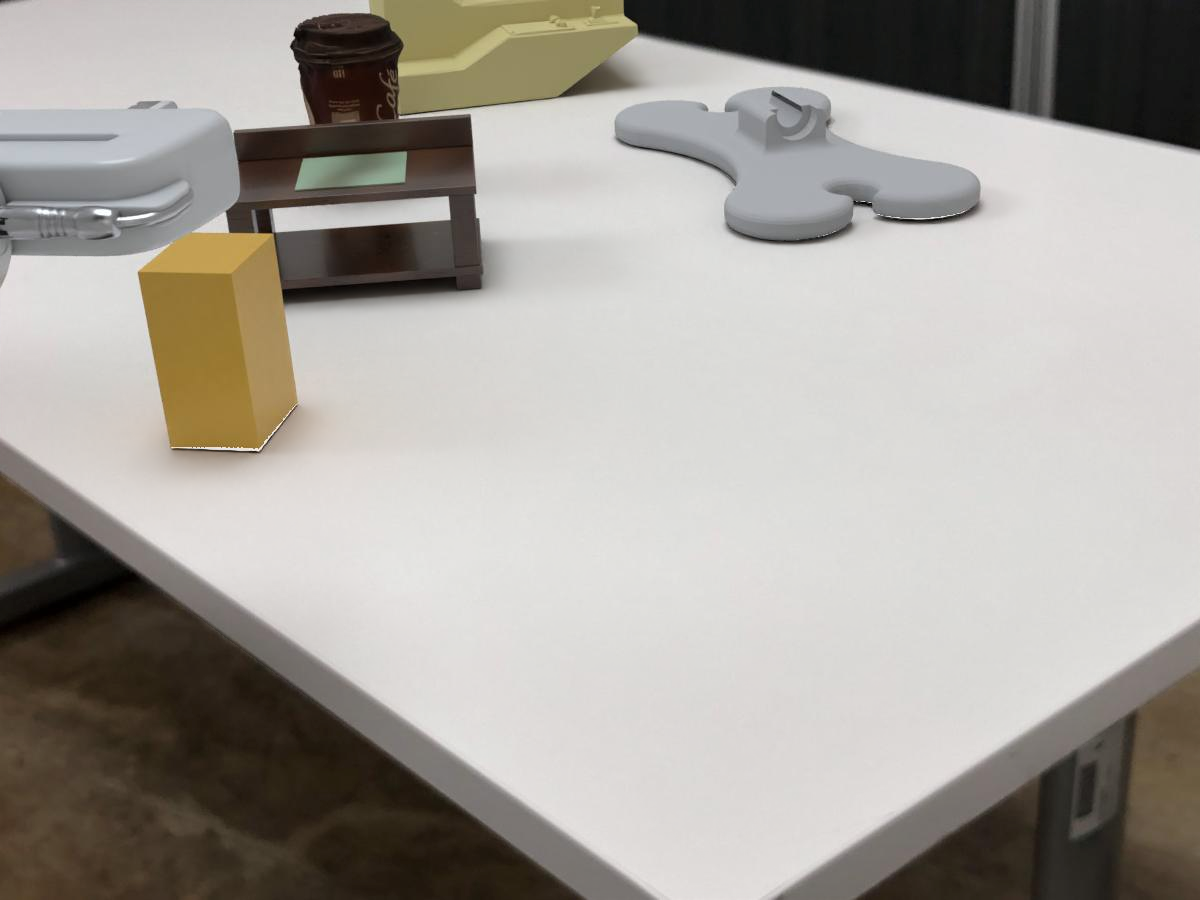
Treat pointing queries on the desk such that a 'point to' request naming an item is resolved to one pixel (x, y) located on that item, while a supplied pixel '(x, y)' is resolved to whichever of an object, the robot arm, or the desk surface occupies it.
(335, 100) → the coffee cup
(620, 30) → the control panel
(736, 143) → the holder
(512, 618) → the desk surface
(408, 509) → the desk surface
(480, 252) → the rack
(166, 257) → the block
